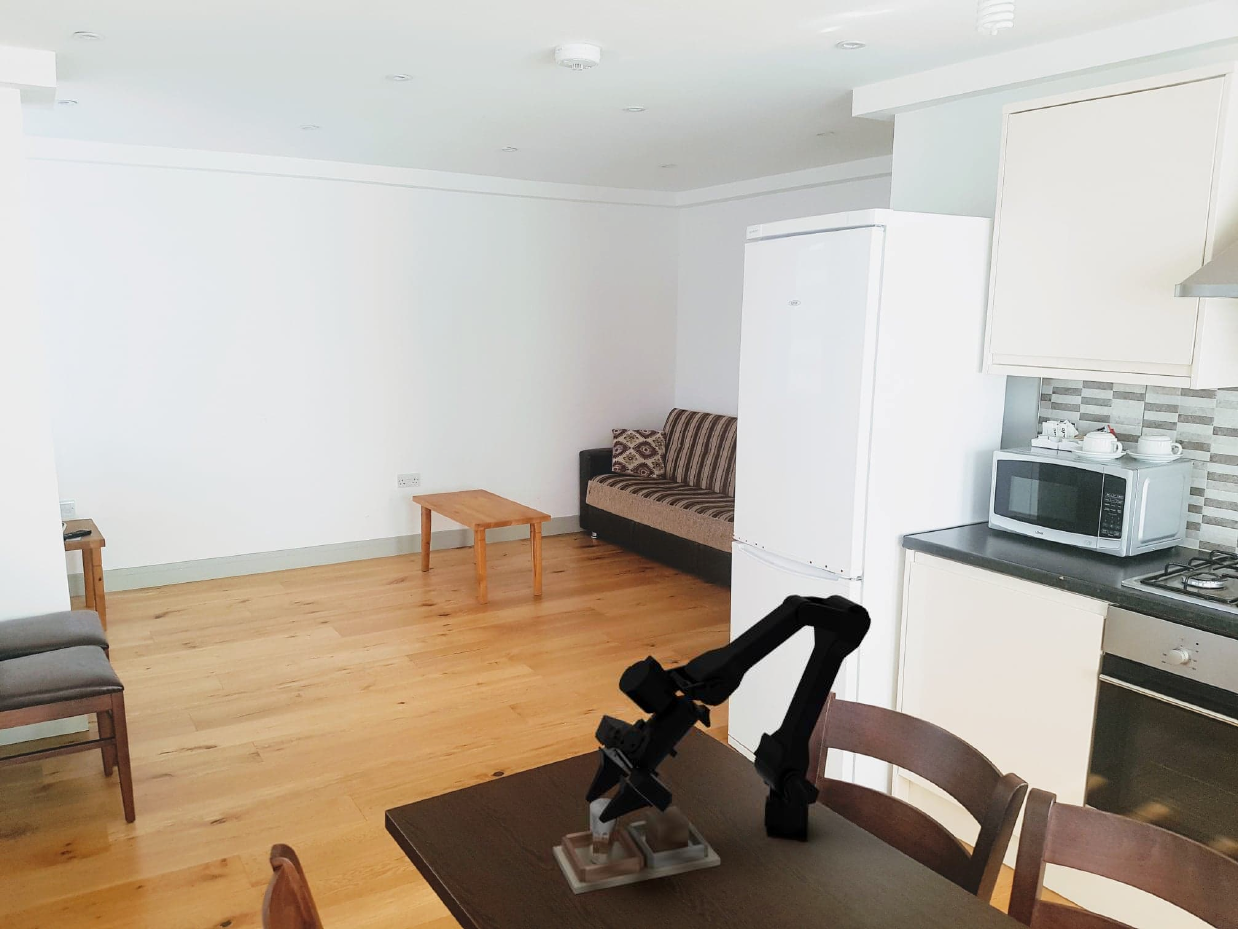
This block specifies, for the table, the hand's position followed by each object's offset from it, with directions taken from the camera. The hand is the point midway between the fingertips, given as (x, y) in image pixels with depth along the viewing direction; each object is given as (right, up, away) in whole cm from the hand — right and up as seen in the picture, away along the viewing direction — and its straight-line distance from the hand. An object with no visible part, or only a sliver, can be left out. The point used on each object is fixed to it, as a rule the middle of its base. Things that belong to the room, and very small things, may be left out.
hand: (593, 811), depth 138 cm
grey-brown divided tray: (+6, -9, +4) cm, 11 cm away
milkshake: (+1, -8, +2) cm, 8 cm away
